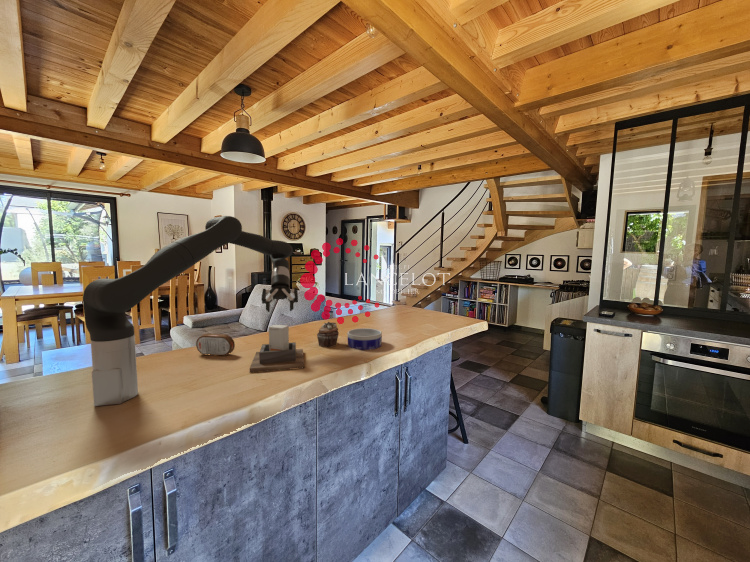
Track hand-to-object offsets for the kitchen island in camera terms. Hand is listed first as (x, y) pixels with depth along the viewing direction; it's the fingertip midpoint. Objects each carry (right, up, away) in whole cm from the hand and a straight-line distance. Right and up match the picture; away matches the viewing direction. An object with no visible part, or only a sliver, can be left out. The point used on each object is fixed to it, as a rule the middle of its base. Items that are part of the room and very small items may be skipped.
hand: (279, 310), depth 123 cm
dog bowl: (+33, -17, +15) cm, 40 cm away
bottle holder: (+2, -19, -7) cm, 20 cm away
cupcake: (+17, -17, +15) cm, 28 cm away
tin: (-26, -18, 0) cm, 32 cm away
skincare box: (+2, -17, -7) cm, 19 cm away
